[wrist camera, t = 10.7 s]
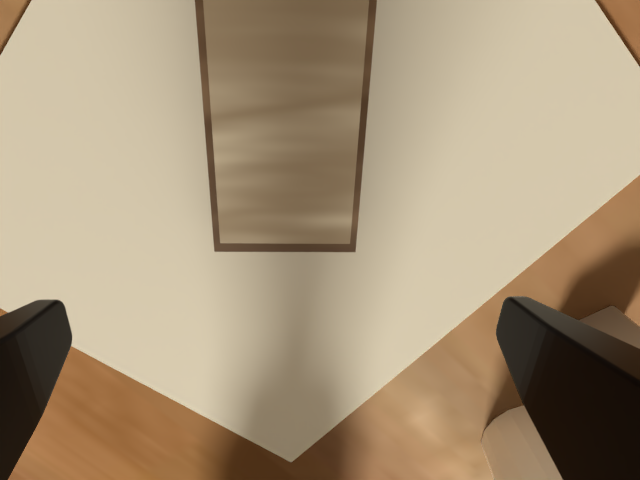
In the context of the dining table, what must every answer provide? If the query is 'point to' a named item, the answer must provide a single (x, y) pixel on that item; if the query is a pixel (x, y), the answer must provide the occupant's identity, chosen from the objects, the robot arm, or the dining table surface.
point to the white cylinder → (517, 448)
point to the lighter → (615, 325)
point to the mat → (299, 267)
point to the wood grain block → (285, 120)
